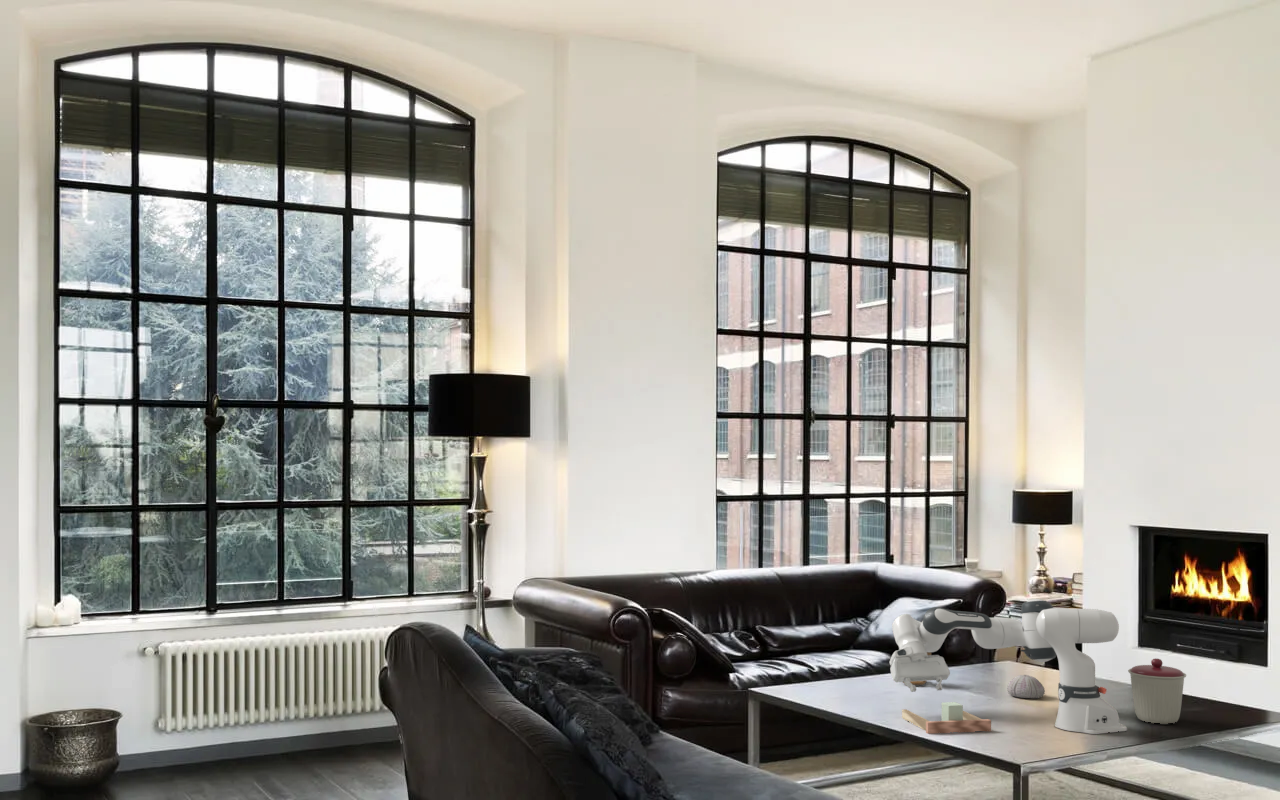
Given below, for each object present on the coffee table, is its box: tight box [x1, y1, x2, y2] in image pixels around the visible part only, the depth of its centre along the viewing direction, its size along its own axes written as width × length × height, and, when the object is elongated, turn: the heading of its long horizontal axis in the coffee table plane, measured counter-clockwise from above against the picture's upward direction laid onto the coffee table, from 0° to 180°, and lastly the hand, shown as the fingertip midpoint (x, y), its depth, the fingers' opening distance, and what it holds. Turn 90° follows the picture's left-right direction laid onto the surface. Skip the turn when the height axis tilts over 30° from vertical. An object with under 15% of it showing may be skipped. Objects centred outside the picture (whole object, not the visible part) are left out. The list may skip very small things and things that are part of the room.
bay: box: [901, 708, 992, 735], centre depth 389 cm, size 22×22×4 cm
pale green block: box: [941, 701, 964, 721], centre depth 384 cm, size 5×5×8 cm
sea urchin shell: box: [1006, 674, 1046, 699], centre depth 438 cm, size 13×14×8 cm
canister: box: [1127, 657, 1187, 725], centre depth 399 cm, size 18×18×21 cm
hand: (926, 690), depth 401 cm, fingers open, 8 cm apart
